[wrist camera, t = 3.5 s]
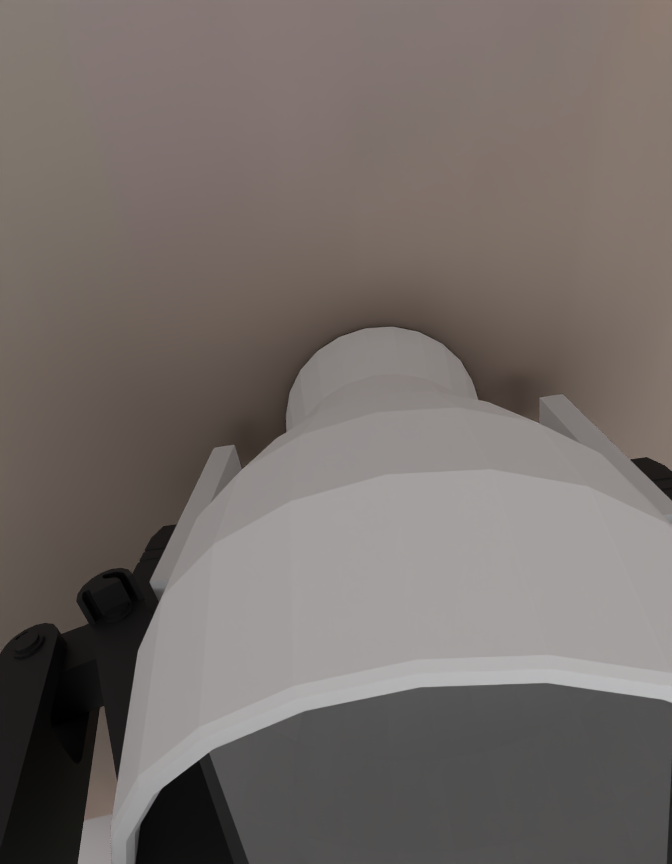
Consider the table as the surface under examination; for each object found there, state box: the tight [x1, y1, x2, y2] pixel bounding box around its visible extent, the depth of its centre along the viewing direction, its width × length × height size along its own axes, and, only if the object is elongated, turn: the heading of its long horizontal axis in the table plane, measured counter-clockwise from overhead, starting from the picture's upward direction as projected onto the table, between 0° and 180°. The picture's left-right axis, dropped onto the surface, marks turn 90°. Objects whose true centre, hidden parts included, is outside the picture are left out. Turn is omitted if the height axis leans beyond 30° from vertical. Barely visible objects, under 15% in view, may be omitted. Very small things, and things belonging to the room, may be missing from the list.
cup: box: [110, 327, 672, 864], centre depth 13 cm, size 11×11×15 cm
